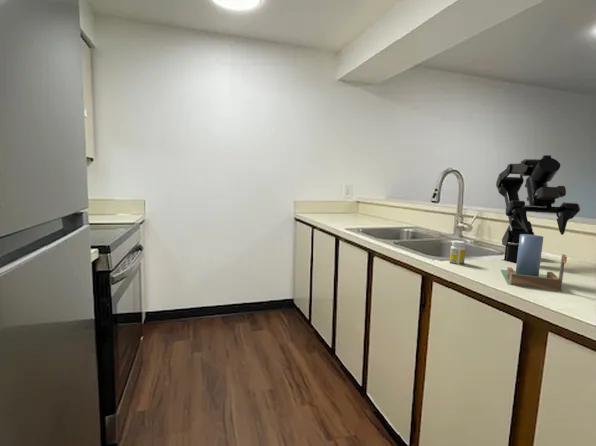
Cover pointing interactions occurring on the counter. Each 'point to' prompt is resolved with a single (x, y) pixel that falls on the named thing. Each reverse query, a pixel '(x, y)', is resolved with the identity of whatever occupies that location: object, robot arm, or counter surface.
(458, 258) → the supplement bottle
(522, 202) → the robot arm
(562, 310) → the counter surface
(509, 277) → the wooden rack
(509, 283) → the felt mat
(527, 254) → the blue domed cylinder
